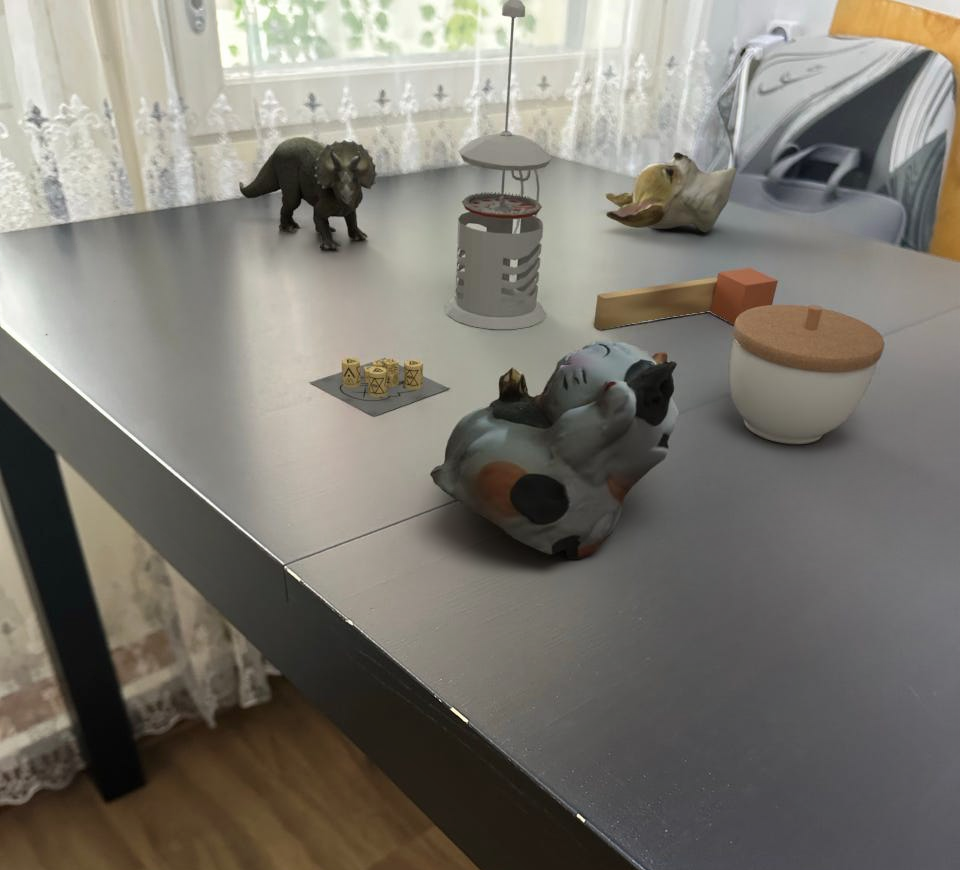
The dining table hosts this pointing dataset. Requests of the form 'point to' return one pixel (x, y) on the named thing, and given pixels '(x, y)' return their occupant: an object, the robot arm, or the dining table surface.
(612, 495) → the lucky cat figurine
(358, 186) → the toy dinosaur
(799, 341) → the trinket box
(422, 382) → the dice set
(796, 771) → the dining table surface
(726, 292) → the terracotta block
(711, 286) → the guide rail
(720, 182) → the ceramic sculpture
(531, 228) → the french press
